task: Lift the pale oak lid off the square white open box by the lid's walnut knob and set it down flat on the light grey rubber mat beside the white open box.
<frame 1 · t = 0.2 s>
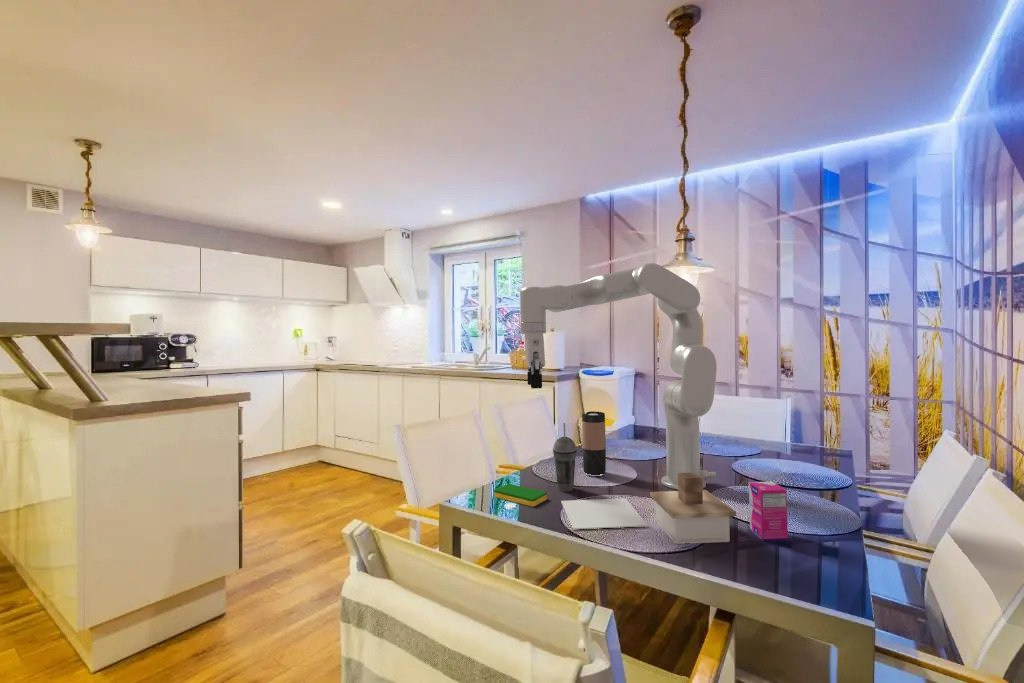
hand: (534, 386, 135), 31 cm above the table, tool pointing down, fingers open, 9 cm apart
white open box: (690, 531, 106), on the table
travel mug: (594, 473, 151), on the table
mat: (601, 514, 117), on the table
beverage cup: (565, 489, 137), on the table
lid: (690, 505, 106), point 6 cm above the table, touching white open box
dish sponge: (520, 500, 130), on the table
supplement box: (768, 536, 102), on the table
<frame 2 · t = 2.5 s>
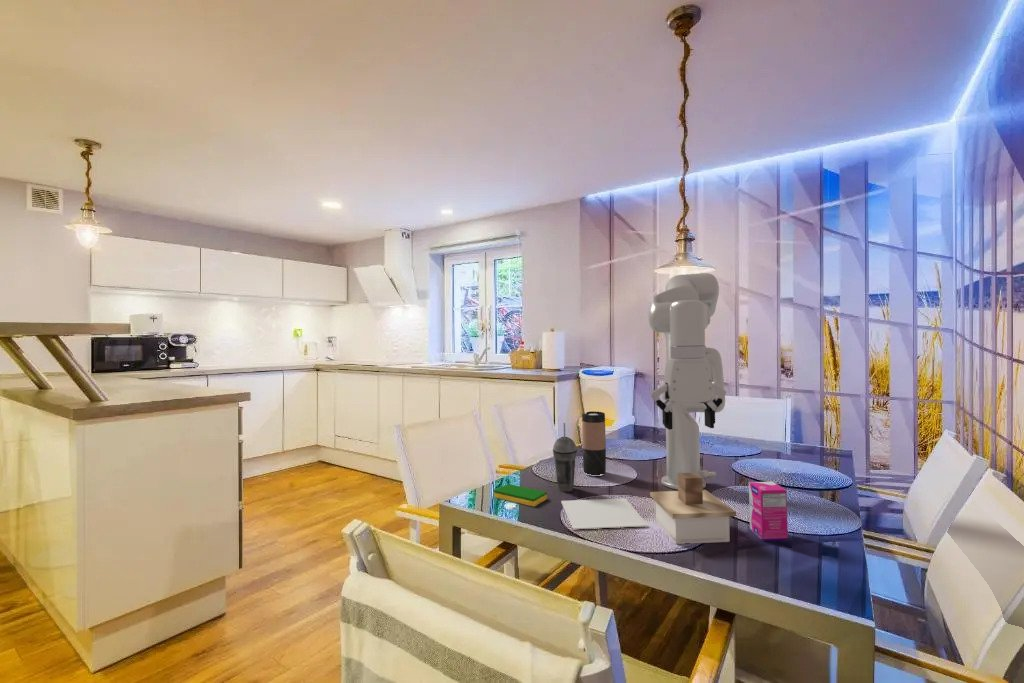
hand: (688, 427, 105), 24 cm above the table, tool pointing down, fingers open, 9 cm apart
nothing on the table moved.
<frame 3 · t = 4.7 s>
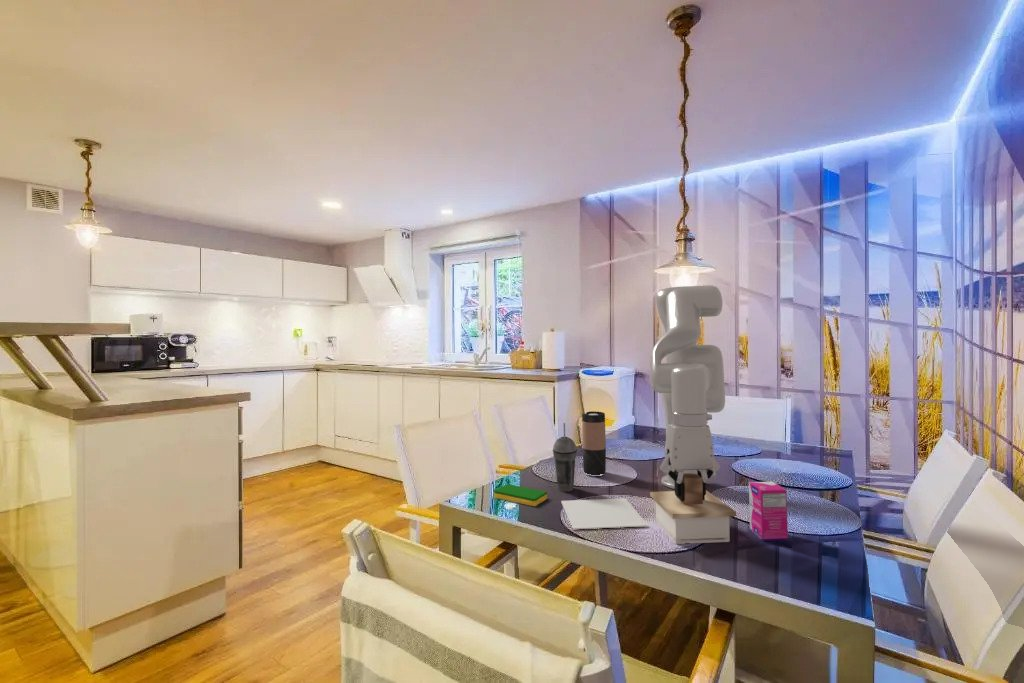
hand: (690, 497, 106), 8 cm above the table, tool pointing down, fingers closed on lid, 4 cm apart
lid: (690, 505, 106), point 6 cm above the table, touching white open box, gripper
everything else where it was.
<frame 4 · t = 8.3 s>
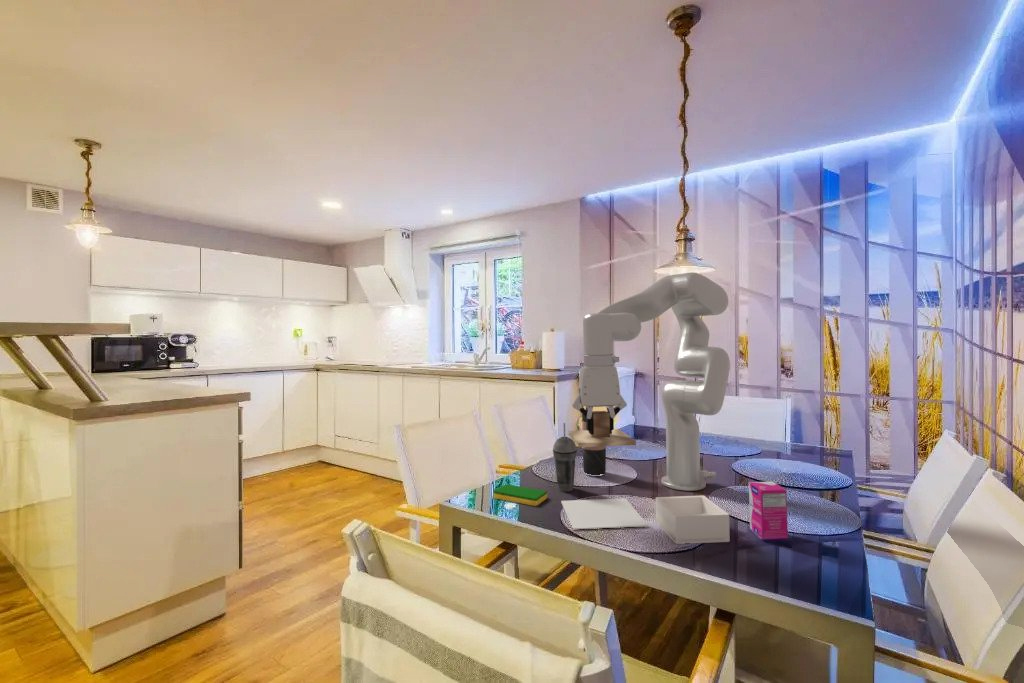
hand: (600, 432, 117), 21 cm above the table, tool pointing down, fingers closed on lid, 4 cm apart
lid: (600, 439, 117), point 19 cm above the table, touching gripper
everything else where it was.
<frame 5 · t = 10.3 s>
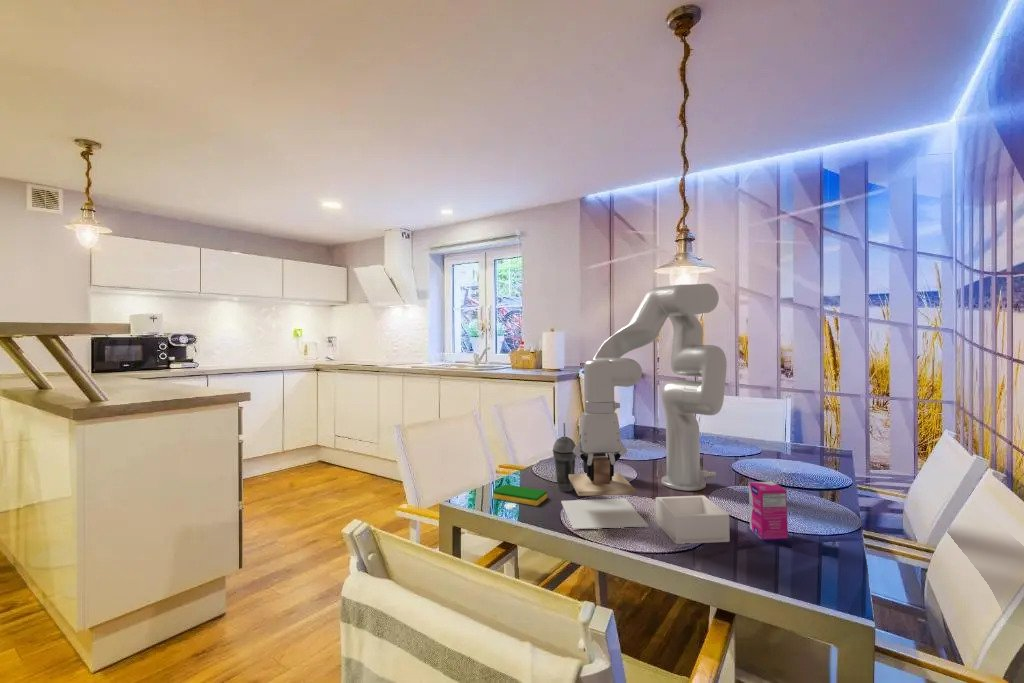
hand: (600, 478, 117), 9 cm above the table, tool pointing down, fingers closed on lid, 4 cm apart
lid: (600, 485, 117), point 7 cm above the table, touching gripper
everything else where it was.
when the fingers open (4 cm above the table, at t = 11.8 s): lid drops 1 cm, resting on mat.
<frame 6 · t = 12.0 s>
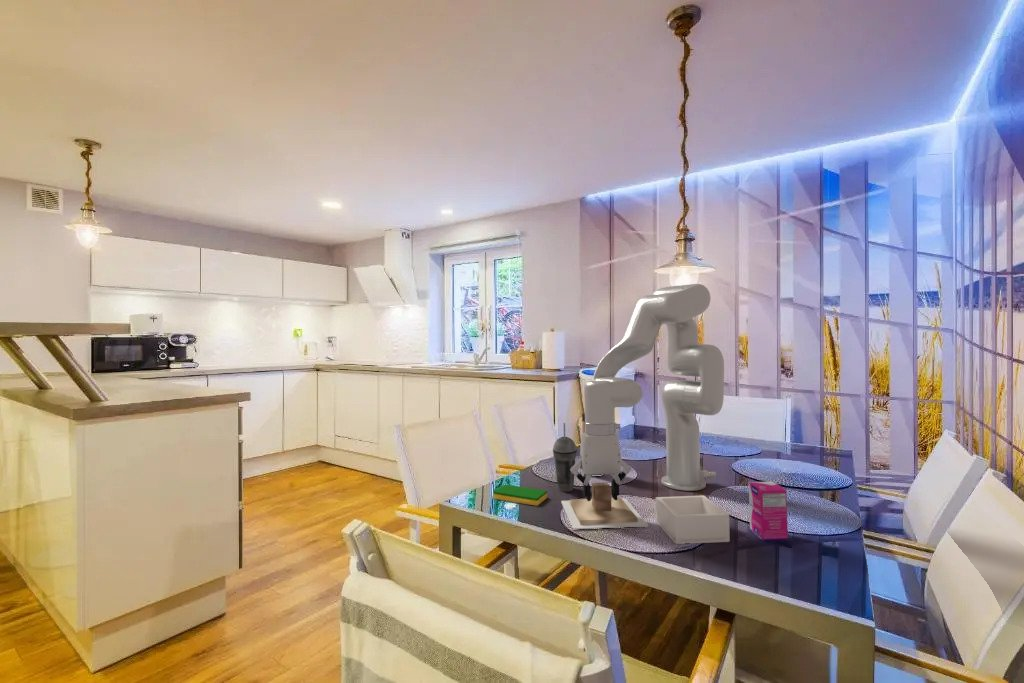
hand: (601, 498, 117), 4 cm above the table, tool pointing down, fingers open, 6 cm apart
lid: (601, 512, 117), resting on mat
everything else where it was.
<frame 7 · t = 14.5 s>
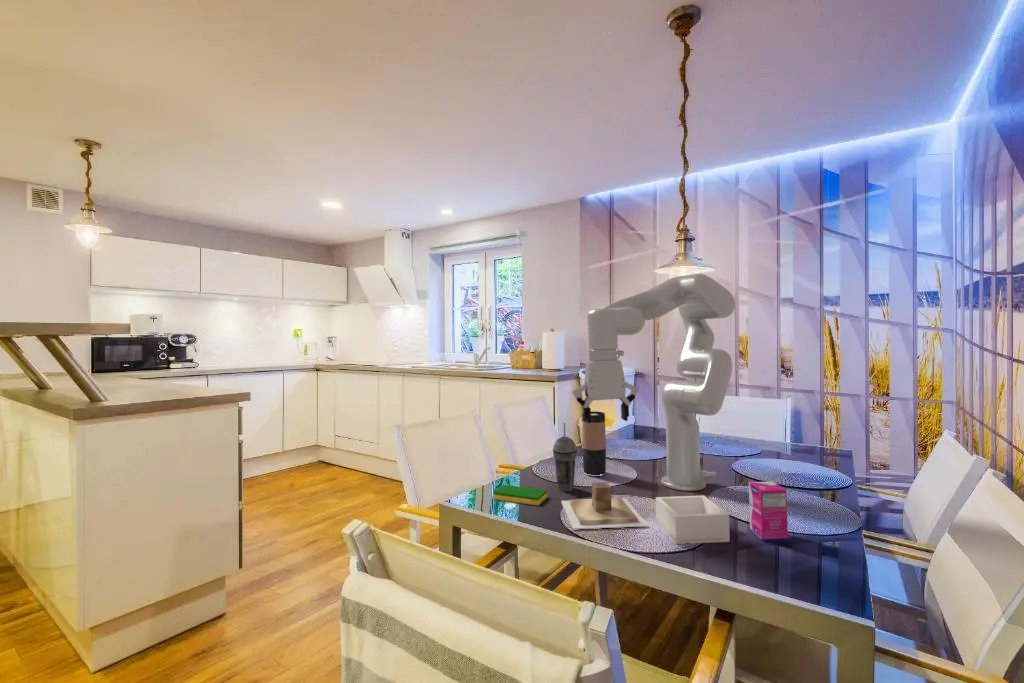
hand: (606, 420, 120), 23 cm above the table, tool pointing down, fingers open, 9 cm apart
nothing on the table moved.
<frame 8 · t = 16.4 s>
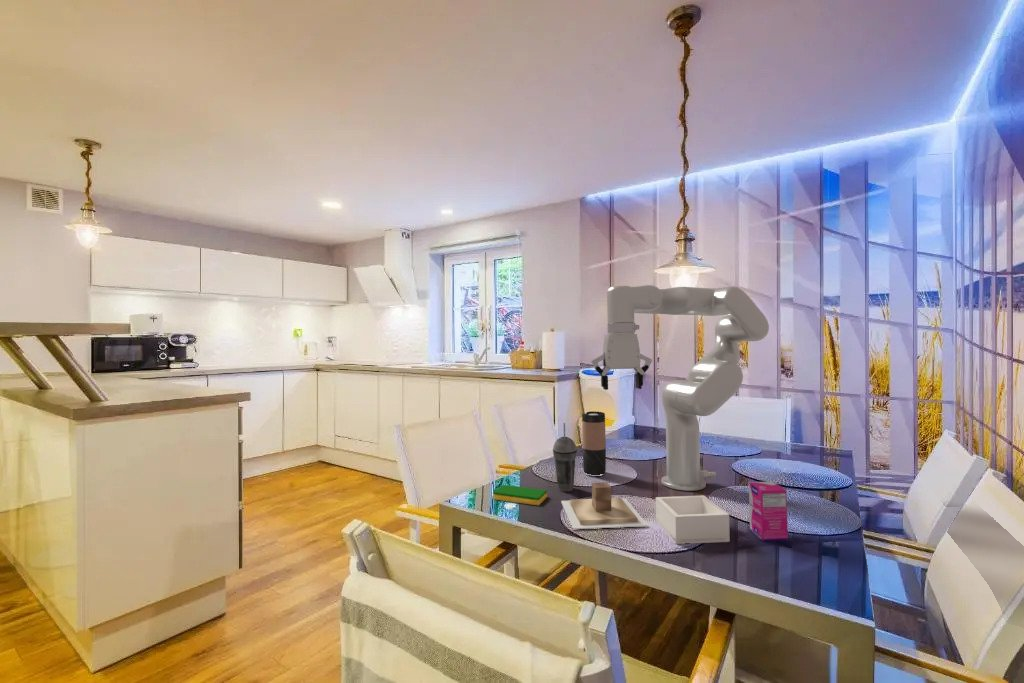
hand: (622, 388, 131), 30 cm above the table, tool pointing down, fingers open, 9 cm apart
nothing on the table moved.
at the end: lid inside the target area on the mat (0.1 cm from its centre), point 0.5 cm above the mat's base; lid touching mat; lid tilted 0° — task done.
